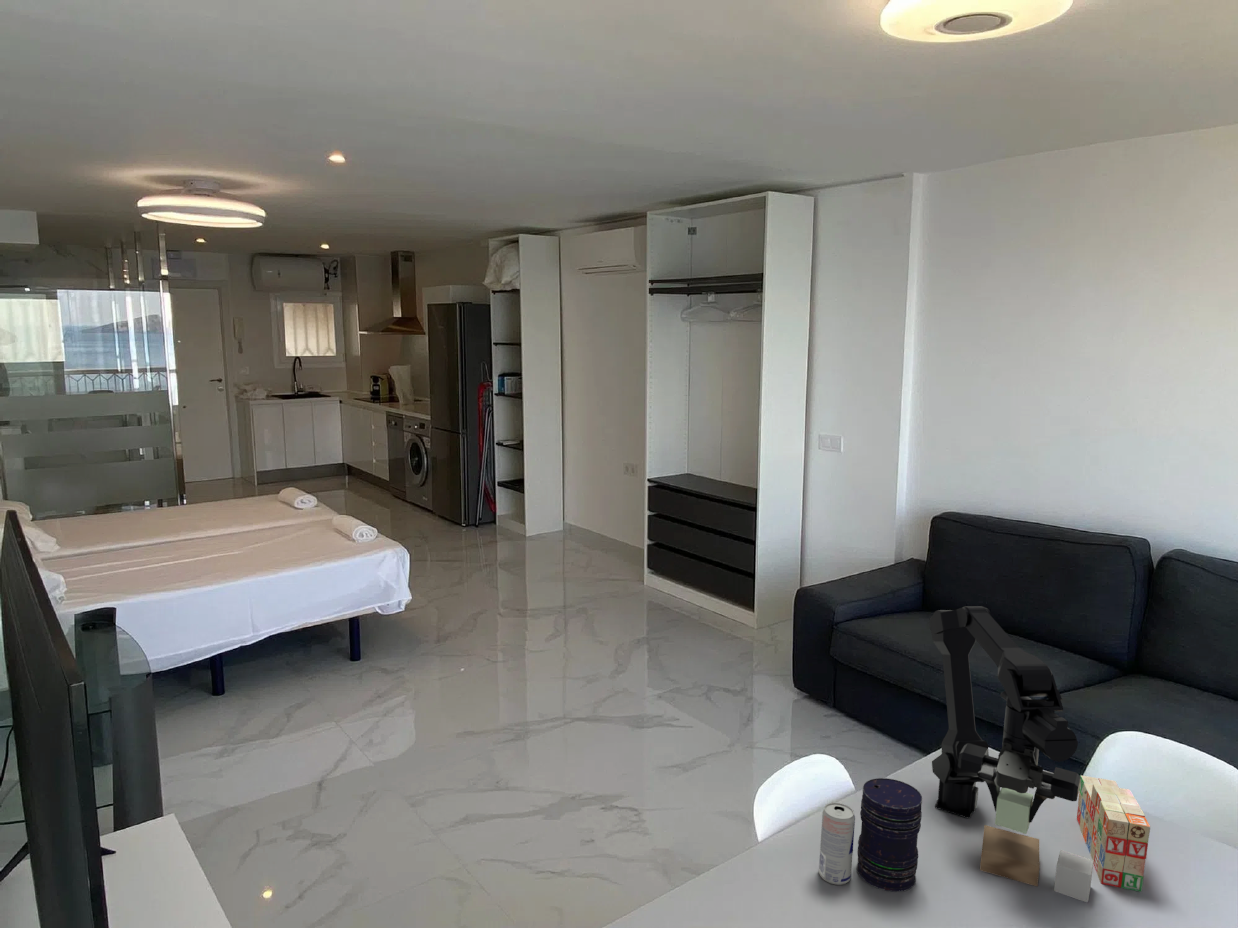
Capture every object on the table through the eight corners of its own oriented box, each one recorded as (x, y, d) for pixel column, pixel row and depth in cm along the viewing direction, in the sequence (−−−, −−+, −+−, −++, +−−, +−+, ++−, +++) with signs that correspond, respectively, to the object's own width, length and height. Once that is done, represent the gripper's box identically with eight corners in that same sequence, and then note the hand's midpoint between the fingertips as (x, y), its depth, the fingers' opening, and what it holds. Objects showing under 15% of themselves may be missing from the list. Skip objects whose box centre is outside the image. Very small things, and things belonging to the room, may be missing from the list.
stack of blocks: (1075, 818, 159) (1081, 759, 158) (1111, 825, 157) (1118, 765, 156) (1100, 884, 139) (1108, 817, 138) (1142, 893, 137) (1151, 825, 136)
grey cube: (1053, 891, 137) (1056, 863, 136) (1057, 876, 141) (1060, 849, 141) (1087, 902, 134) (1090, 874, 134) (1090, 887, 138) (1093, 860, 138)
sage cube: (994, 824, 142) (997, 797, 142) (1000, 811, 147) (1002, 785, 146) (1026, 834, 140) (1029, 807, 139) (1030, 820, 144) (1033, 794, 143)
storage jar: (925, 873, 141) (932, 793, 139) (901, 900, 134) (908, 815, 132) (871, 848, 147) (877, 771, 145) (845, 873, 140) (851, 792, 138)
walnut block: (979, 871, 142) (981, 850, 142) (982, 844, 150) (984, 824, 150) (1037, 887, 138) (1039, 866, 138) (1037, 859, 146) (1039, 838, 146)
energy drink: (851, 870, 141) (856, 805, 139) (849, 888, 136) (854, 822, 134) (820, 863, 143) (824, 799, 141) (817, 881, 138) (821, 815, 136)
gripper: (954, 734, 139) (947, 818, 142) (1078, 767, 129) (1068, 858, 131) (968, 711, 149) (961, 791, 151) (1085, 741, 138) (1075, 826, 140)
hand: (1013, 815), depth 143 cm, fingers closed on sage cube, 5 cm apart
